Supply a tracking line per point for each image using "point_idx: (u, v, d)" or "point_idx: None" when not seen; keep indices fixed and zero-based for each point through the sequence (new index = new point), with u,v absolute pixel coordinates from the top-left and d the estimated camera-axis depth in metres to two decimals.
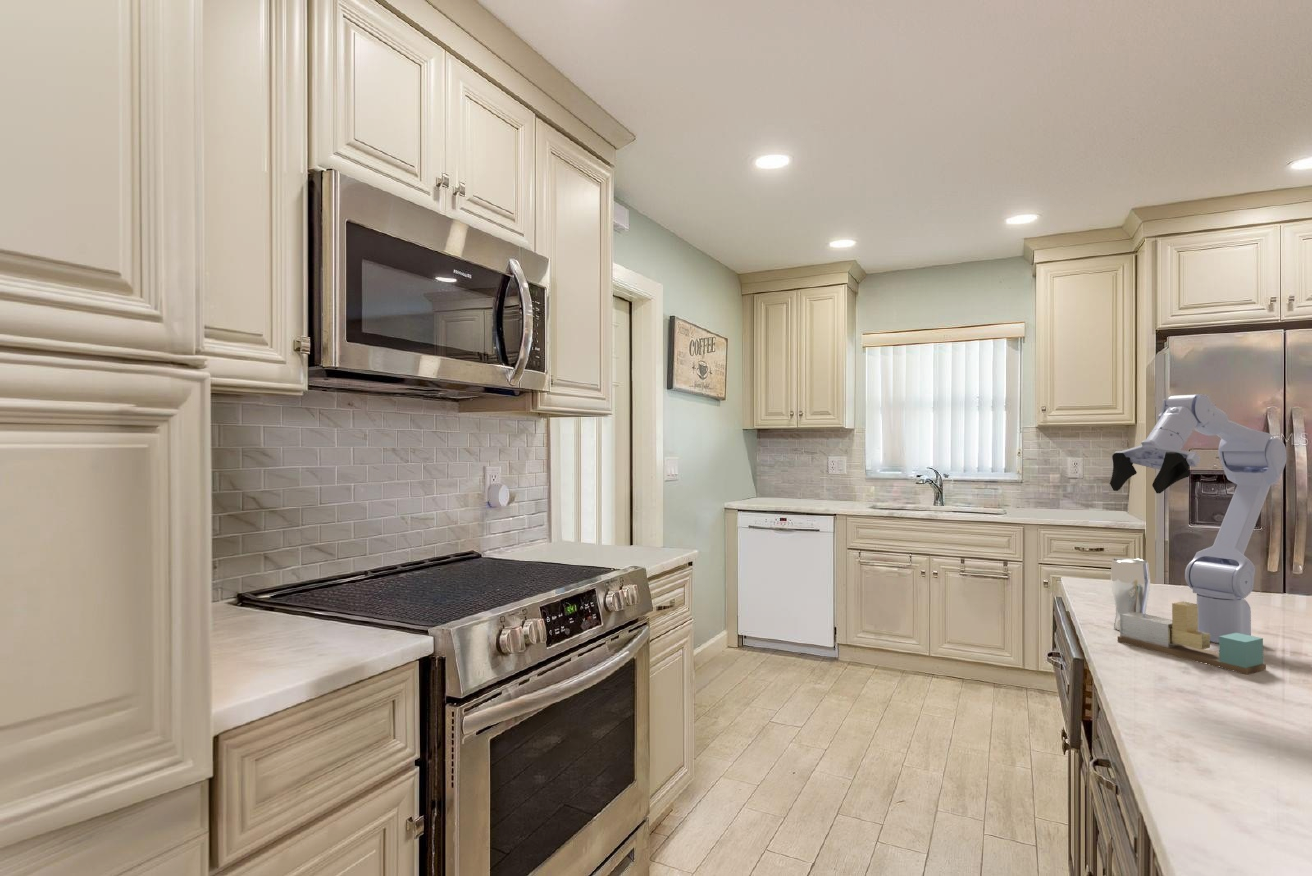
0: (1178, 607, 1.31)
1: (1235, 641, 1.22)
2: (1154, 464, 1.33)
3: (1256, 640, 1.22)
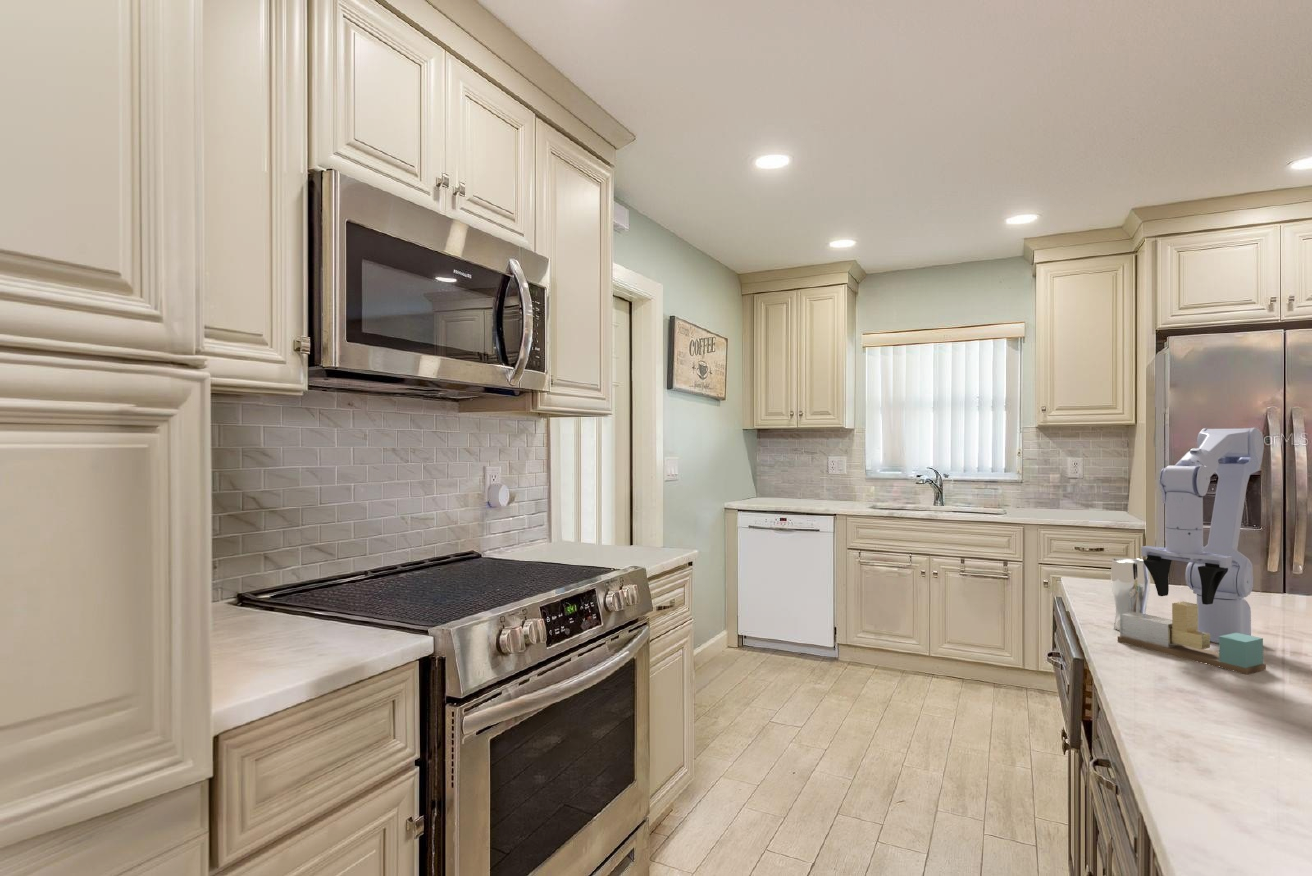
0: (1178, 607, 1.31)
1: (1235, 641, 1.22)
2: None
3: (1256, 640, 1.22)
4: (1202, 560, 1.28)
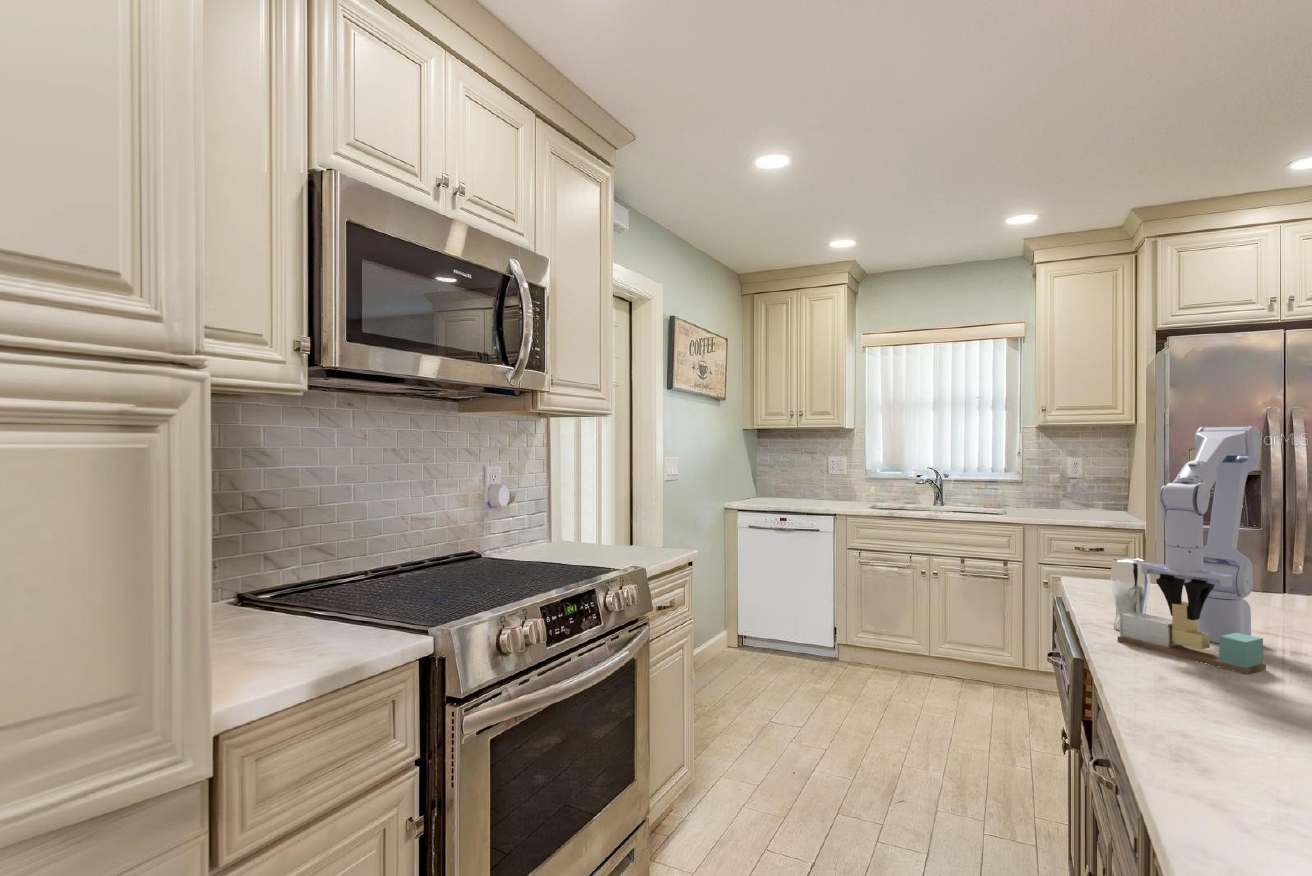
0: (1178, 607, 1.31)
1: (1235, 641, 1.22)
2: None
3: (1256, 640, 1.22)
4: (1202, 578, 1.28)
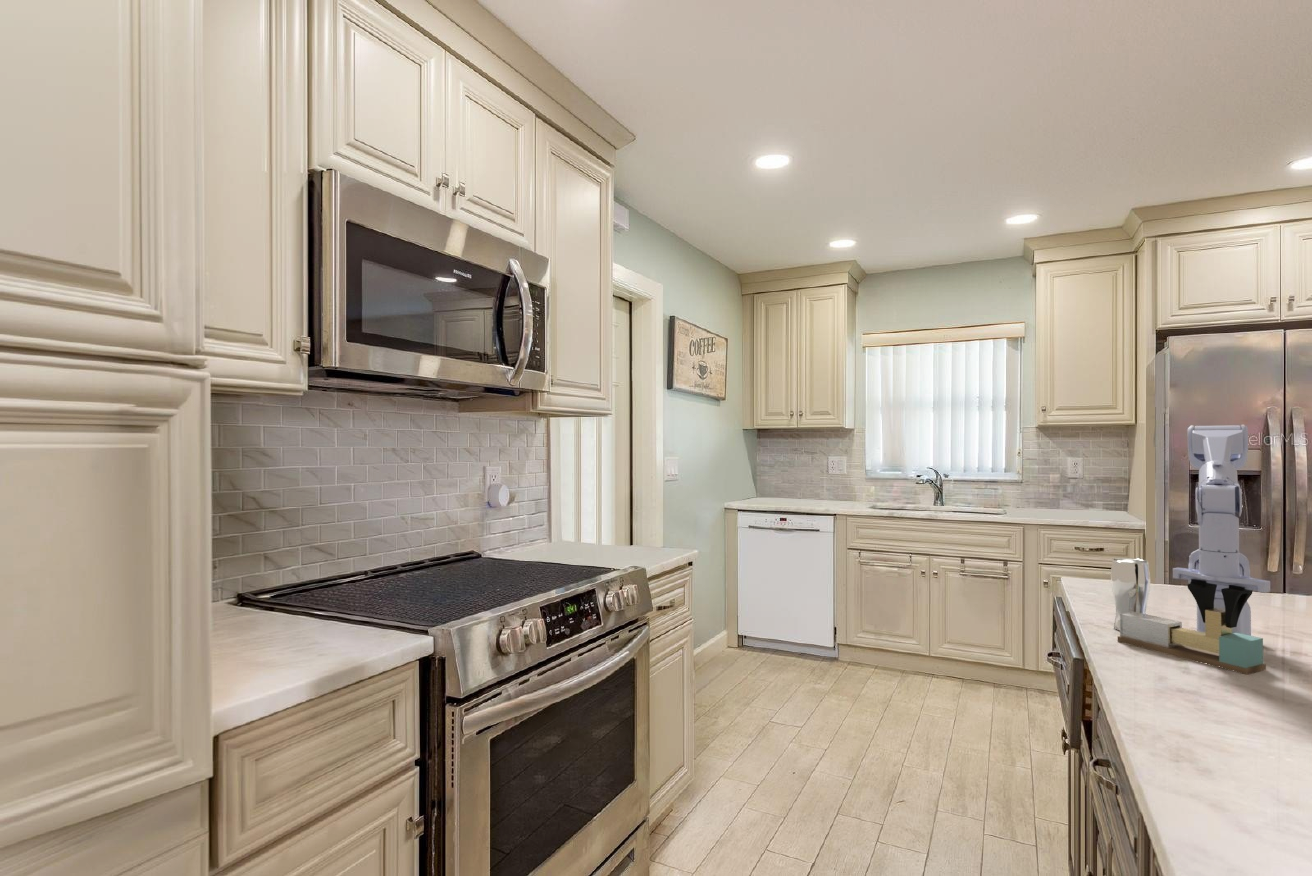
0: (1212, 614, 1.26)
1: (1235, 641, 1.22)
2: None
3: (1256, 640, 1.22)
4: (1238, 584, 1.23)
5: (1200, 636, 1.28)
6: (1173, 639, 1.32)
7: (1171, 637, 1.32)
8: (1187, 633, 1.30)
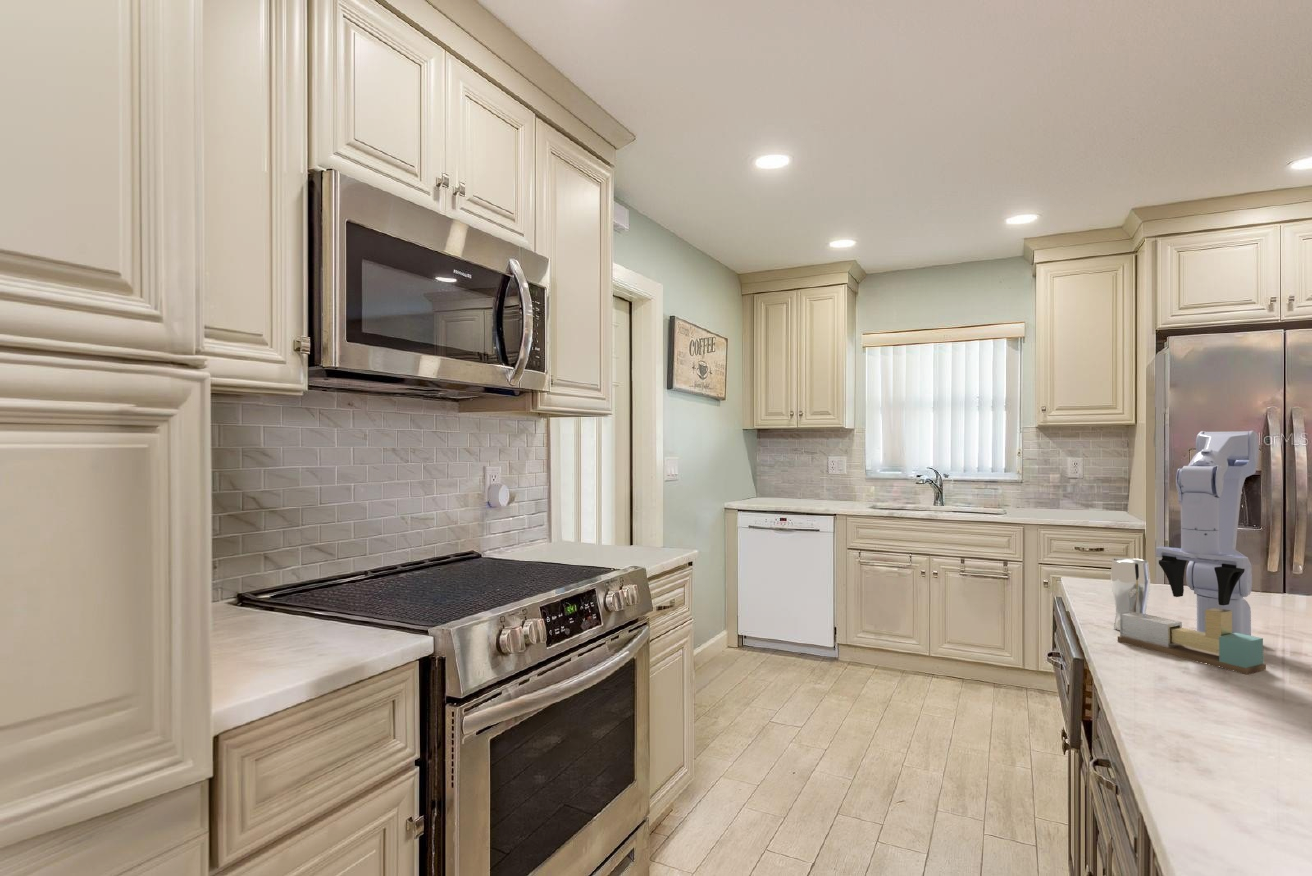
0: (1212, 614, 1.26)
1: (1235, 641, 1.22)
2: None
3: (1256, 640, 1.22)
4: (1218, 561, 1.28)
5: (1200, 636, 1.28)
6: (1173, 639, 1.32)
7: (1171, 637, 1.32)
8: (1187, 633, 1.30)
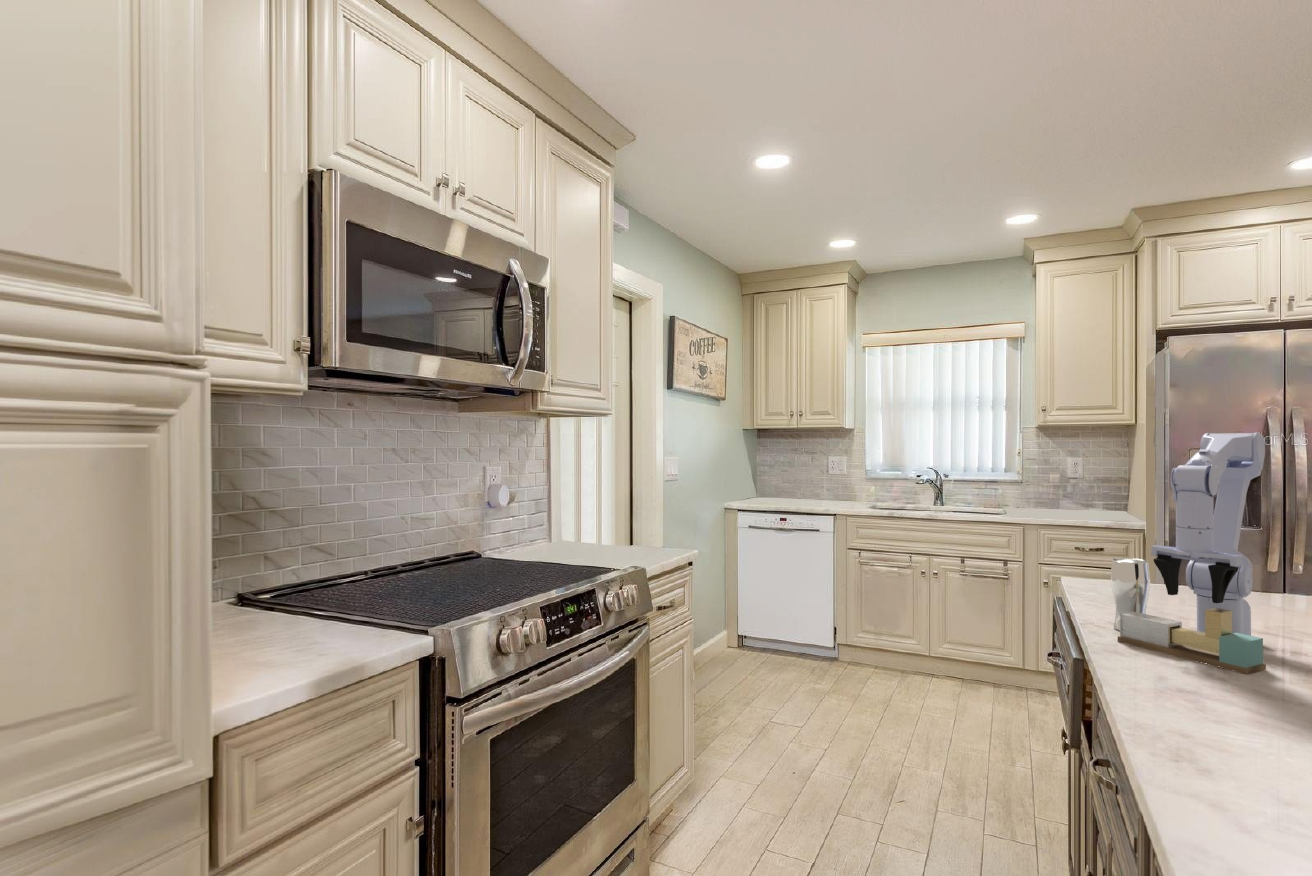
0: (1212, 614, 1.26)
1: (1235, 641, 1.22)
2: None
3: (1256, 640, 1.22)
4: (1212, 559, 1.29)
5: (1200, 636, 1.28)
6: (1173, 639, 1.32)
7: (1171, 637, 1.32)
8: (1187, 633, 1.30)
